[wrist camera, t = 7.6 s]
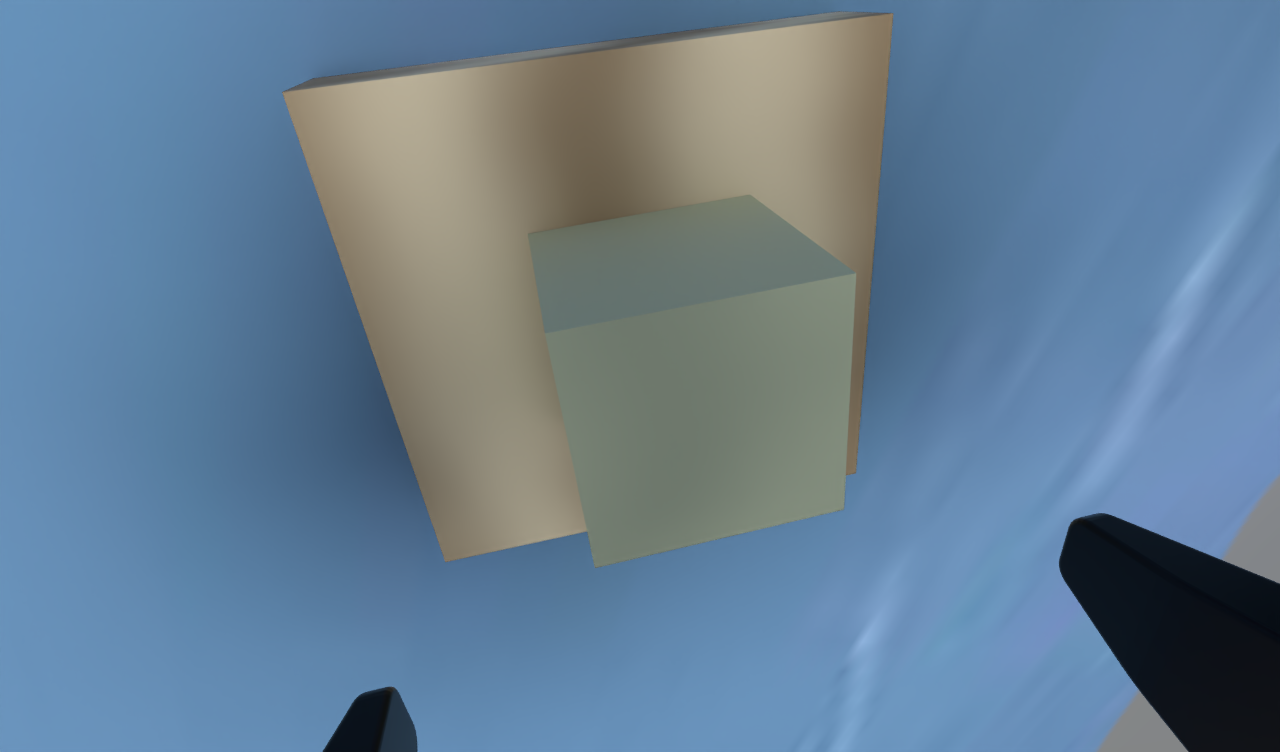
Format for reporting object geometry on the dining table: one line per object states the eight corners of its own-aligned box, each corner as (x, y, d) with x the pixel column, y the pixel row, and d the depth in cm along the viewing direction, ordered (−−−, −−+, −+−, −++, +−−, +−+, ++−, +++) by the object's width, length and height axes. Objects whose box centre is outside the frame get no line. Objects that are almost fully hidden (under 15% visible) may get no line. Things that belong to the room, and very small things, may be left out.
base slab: (828, 11, 16) (893, 13, 14) (813, 418, 22) (855, 473, 20) (317, 75, 15) (282, 92, 12) (450, 492, 21) (445, 562, 18)
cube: (750, 194, 15) (855, 273, 11) (756, 384, 17) (843, 509, 13) (527, 233, 14) (544, 333, 10) (567, 424, 17) (594, 568, 13)
